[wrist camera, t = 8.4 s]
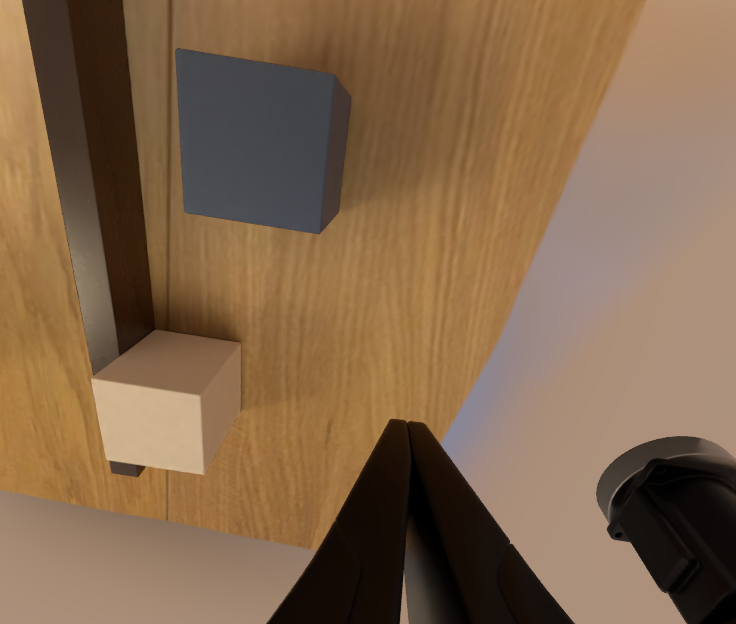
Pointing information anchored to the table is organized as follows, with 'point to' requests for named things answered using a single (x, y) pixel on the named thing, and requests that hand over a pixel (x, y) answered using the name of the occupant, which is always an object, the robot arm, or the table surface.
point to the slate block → (260, 141)
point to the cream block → (169, 401)
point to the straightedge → (95, 169)
